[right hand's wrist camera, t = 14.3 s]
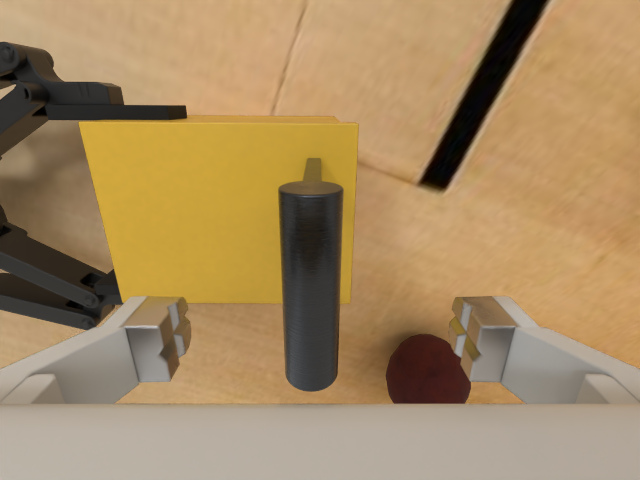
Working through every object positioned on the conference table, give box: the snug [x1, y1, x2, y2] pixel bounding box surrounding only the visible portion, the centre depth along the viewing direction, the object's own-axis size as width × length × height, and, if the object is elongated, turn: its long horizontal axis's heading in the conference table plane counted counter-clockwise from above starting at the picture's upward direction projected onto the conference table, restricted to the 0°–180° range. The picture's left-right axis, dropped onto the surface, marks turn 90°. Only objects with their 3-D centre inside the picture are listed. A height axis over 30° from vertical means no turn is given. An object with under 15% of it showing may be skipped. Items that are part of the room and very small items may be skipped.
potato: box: [386, 334, 471, 404], centre depth 31 cm, size 7×8×7 cm
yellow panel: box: [78, 121, 359, 392], centre depth 15 cm, size 14×10×9 cm
